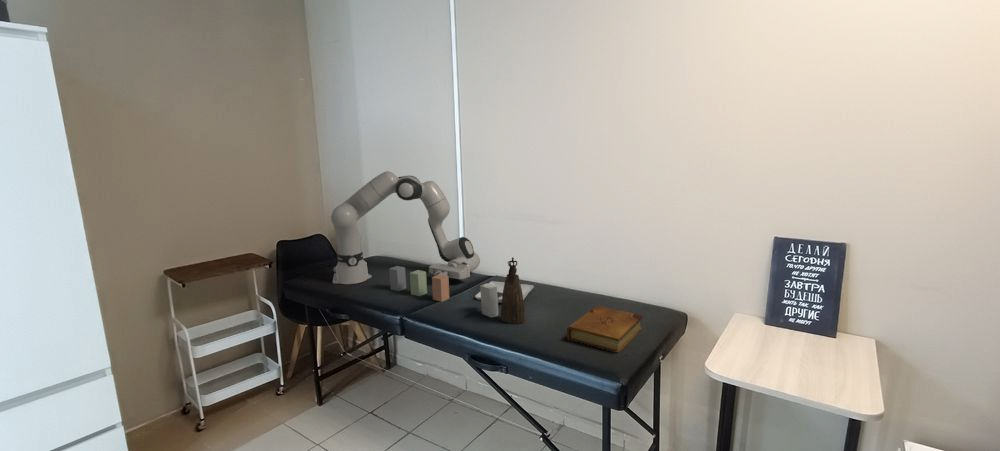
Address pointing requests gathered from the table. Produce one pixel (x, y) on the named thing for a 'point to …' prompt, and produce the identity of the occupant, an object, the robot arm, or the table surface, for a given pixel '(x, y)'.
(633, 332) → the diary
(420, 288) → the sage block
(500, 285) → the salad plate
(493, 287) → the skincare box
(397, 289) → the slate block
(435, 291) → the terracotta block
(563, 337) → the table surface
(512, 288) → the statue
